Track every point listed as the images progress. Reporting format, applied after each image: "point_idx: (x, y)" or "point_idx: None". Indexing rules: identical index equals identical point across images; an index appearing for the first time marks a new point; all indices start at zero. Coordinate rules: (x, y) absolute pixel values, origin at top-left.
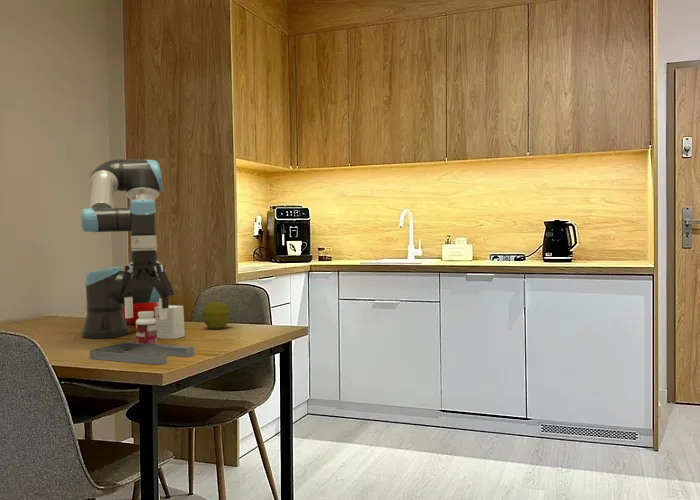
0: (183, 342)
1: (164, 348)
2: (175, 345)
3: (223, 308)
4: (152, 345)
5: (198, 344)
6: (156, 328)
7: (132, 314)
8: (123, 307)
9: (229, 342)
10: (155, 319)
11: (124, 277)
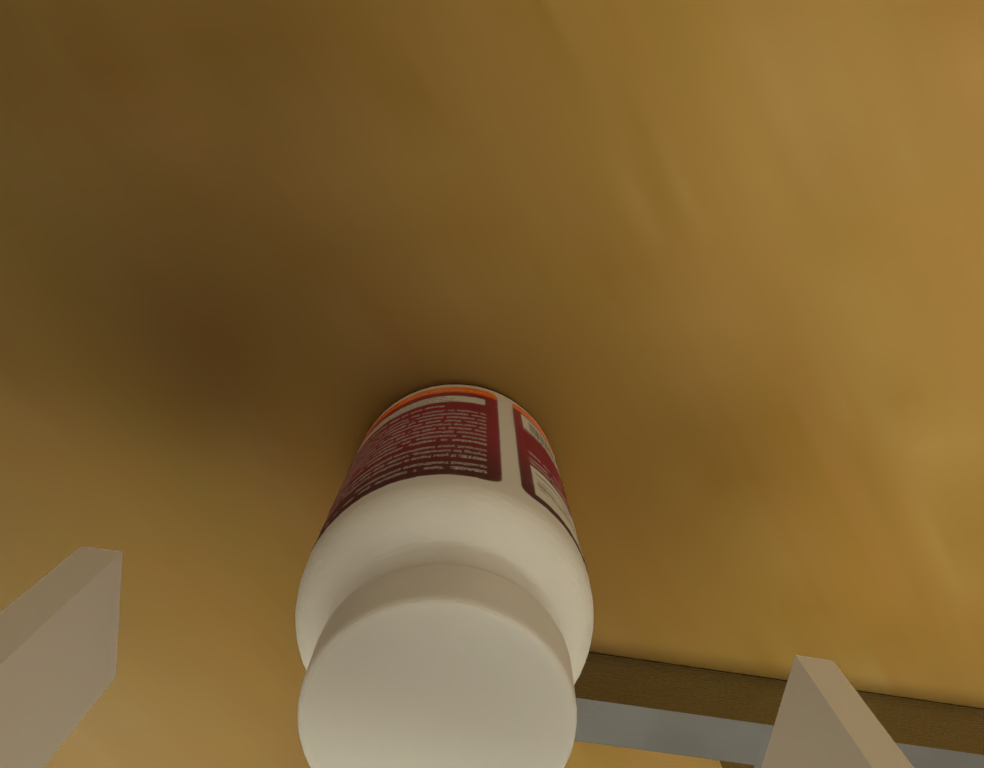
0: (703, 131)
1: None
2: (936, 754)
3: None
4: (688, 749)
5: (930, 227)
6: (573, 525)
7: (92, 590)
8: None
9: None
10: (574, 583)
11: None
